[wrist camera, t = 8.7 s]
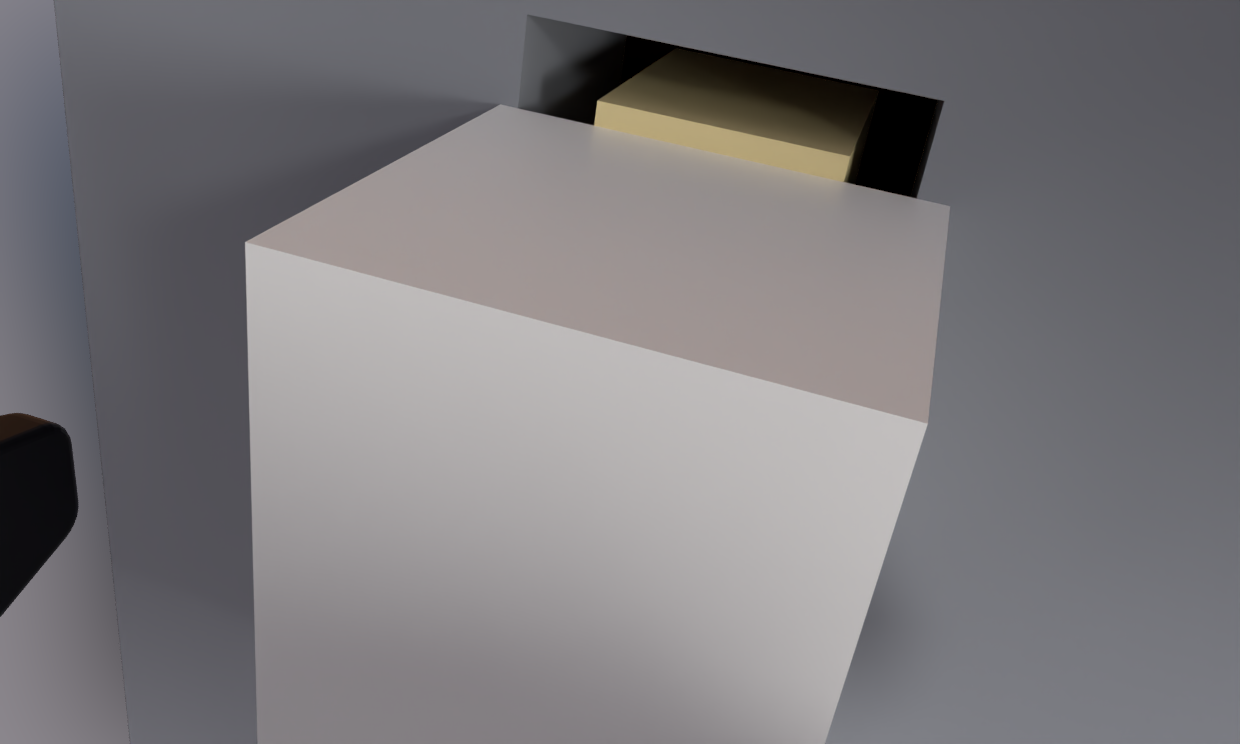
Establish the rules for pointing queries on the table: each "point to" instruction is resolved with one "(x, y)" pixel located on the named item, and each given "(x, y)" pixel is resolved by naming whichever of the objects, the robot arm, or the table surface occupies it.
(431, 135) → the socket
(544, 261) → the plug
